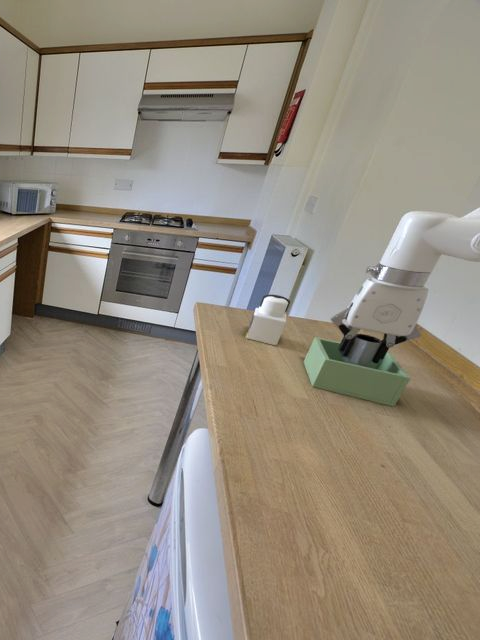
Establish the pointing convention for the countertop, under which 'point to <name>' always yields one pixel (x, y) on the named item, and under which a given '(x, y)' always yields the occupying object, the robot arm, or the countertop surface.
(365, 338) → the grey cylinder
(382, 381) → the basket
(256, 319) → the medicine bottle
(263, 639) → the countertop surface
